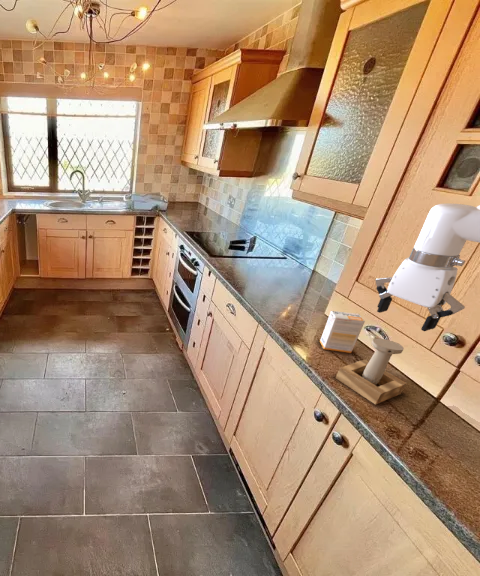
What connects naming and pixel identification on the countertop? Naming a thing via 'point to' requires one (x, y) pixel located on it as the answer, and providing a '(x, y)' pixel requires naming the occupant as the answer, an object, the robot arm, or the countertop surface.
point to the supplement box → (341, 331)
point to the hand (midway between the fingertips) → (402, 320)
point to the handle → (380, 359)
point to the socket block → (353, 379)
